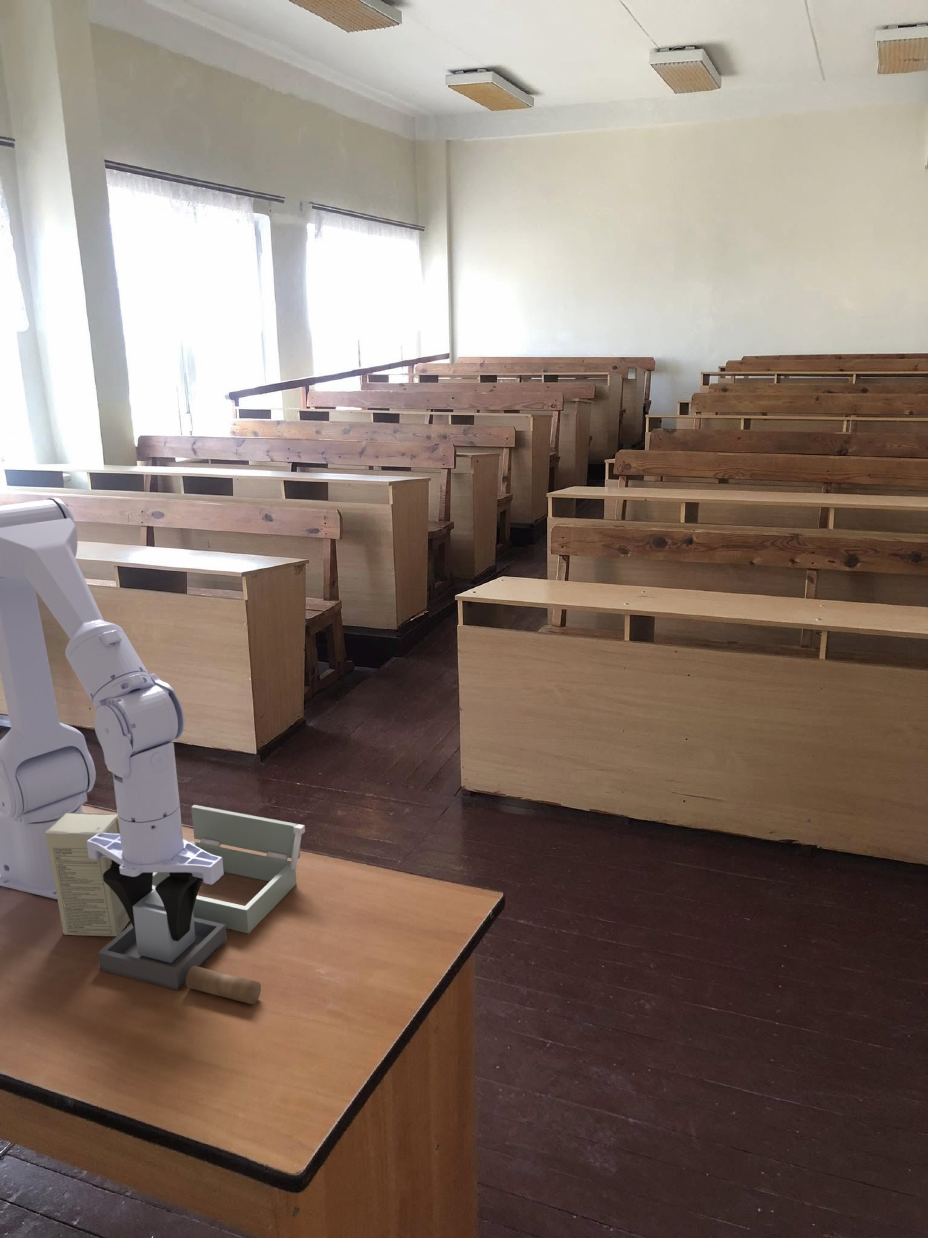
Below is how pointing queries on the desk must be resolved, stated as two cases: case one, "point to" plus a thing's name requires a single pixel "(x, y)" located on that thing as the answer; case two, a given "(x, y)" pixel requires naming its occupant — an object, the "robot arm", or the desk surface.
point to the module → (157, 930)
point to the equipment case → (245, 862)
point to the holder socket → (128, 963)
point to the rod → (223, 985)
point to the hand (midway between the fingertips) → (162, 930)
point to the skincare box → (84, 876)
